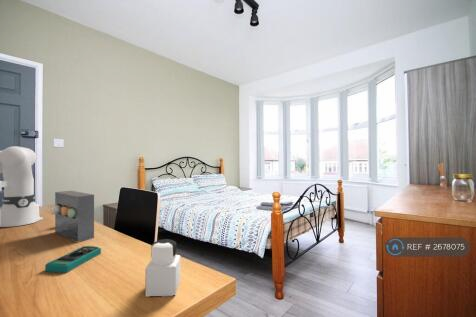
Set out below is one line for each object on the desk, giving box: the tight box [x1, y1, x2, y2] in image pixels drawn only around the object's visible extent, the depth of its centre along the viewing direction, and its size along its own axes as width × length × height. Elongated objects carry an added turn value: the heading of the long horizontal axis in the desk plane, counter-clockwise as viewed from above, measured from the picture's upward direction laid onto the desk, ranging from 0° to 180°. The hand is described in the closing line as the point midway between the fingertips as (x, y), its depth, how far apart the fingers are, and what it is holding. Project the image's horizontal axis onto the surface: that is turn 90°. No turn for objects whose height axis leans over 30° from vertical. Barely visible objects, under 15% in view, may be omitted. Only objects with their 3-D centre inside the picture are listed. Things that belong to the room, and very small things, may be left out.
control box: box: [54, 190, 95, 243], centre depth 100 cm, size 22×6×18 cm, turn 57°
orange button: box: [61, 206, 68, 216], centre depth 98 cm, size 4×2×4 cm, turn 57°
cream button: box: [50, 204, 61, 215], centre depth 100 cm, size 4×2×4 cm, turn 57°
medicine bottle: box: [144, 238, 181, 297], centre depth 59 cm, size 7×7×12 cm
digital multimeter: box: [44, 245, 102, 274], centre depth 75 cm, size 7×15×3 cm, turn 172°
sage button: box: [67, 208, 75, 218], centre depth 94 cm, size 4×2×4 cm, turn 57°
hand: (12, 183), depth 85 cm, fingers closed
